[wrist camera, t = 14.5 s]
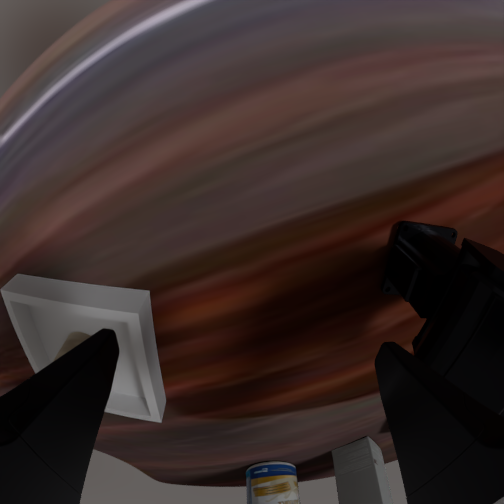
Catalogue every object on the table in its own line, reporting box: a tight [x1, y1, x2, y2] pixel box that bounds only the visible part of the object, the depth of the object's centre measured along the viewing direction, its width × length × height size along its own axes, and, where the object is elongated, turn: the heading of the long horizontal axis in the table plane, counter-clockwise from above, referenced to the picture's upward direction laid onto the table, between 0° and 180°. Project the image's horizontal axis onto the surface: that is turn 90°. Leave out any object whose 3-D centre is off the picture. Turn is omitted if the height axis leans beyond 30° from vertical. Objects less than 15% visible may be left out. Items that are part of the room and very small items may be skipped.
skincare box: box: [332, 437, 393, 504], centre depth 30 cm, size 8×7×16 cm
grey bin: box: [0, 274, 166, 423], centre depth 24 cm, size 15×15×3 cm
